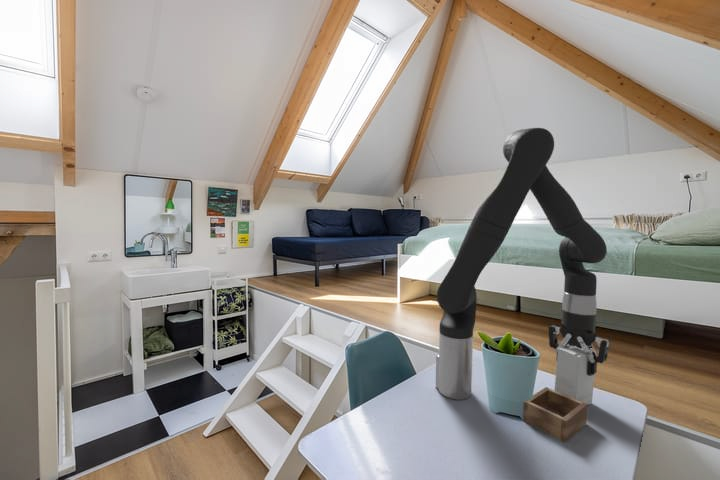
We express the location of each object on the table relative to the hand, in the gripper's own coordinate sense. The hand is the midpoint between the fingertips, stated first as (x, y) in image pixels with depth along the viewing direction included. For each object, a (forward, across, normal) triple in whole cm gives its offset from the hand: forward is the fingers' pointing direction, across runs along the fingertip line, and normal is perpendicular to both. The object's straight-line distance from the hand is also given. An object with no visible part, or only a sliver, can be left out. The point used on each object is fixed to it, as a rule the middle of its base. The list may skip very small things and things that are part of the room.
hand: (575, 369), depth 85 cm
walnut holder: (+9, +1, -14) cm, 17 cm away
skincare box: (+9, 0, -1) cm, 9 cm away
